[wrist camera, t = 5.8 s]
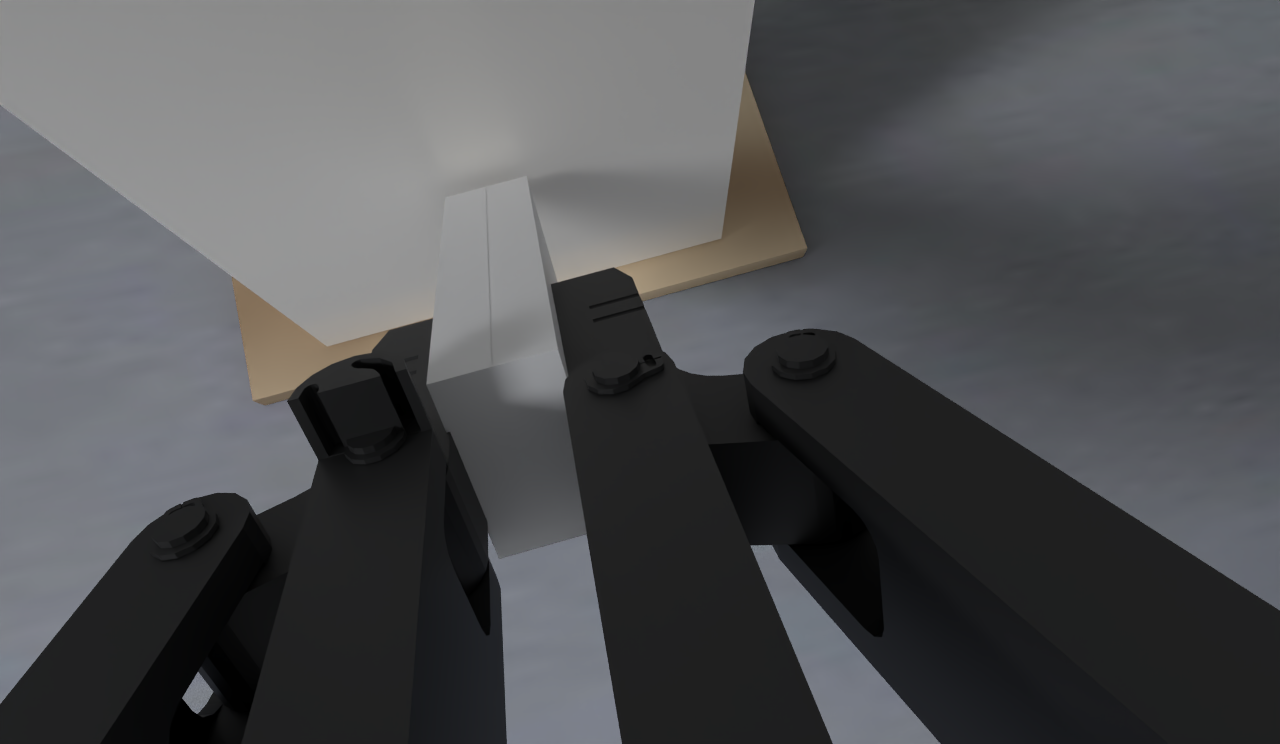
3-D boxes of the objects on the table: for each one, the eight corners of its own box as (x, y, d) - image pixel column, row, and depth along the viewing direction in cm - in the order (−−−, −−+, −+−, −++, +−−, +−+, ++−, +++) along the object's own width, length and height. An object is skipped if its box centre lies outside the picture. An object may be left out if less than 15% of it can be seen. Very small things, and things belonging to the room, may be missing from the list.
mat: (803, 256, 21) (807, 247, 20) (264, 405, 20) (252, 400, 20) (616, -275, 25) (615, -296, 24) (165, -164, 24) (152, -182, 24)
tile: (721, 238, 20) (821, -477, 7) (327, 346, 20) (-393, -187, 6) (691, 150, 21) (730, -658, 8) (309, 253, 21) (-374, -405, 7)
